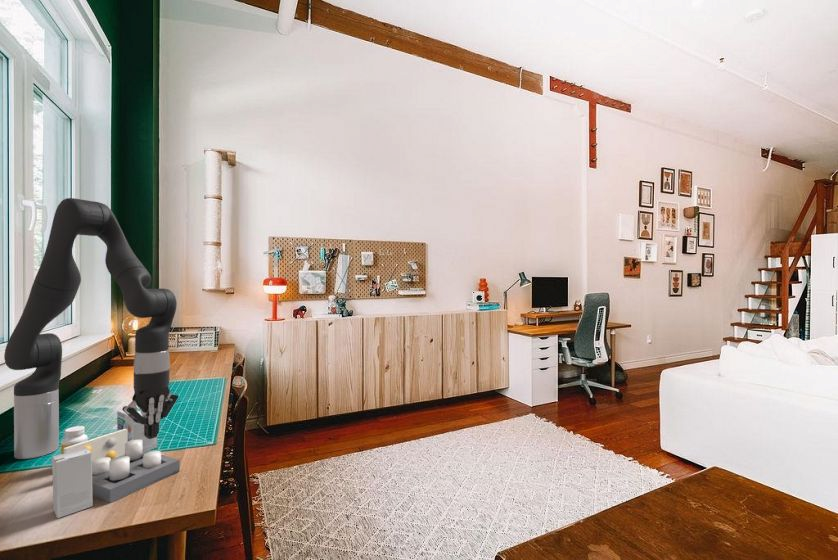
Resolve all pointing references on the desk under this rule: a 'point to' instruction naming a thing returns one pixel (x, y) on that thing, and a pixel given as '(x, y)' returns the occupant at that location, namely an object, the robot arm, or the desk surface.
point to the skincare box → (72, 482)
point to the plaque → (104, 445)
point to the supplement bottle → (73, 437)
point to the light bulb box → (134, 429)
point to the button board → (133, 478)
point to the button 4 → (151, 459)
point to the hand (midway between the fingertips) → (151, 437)
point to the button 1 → (100, 466)
